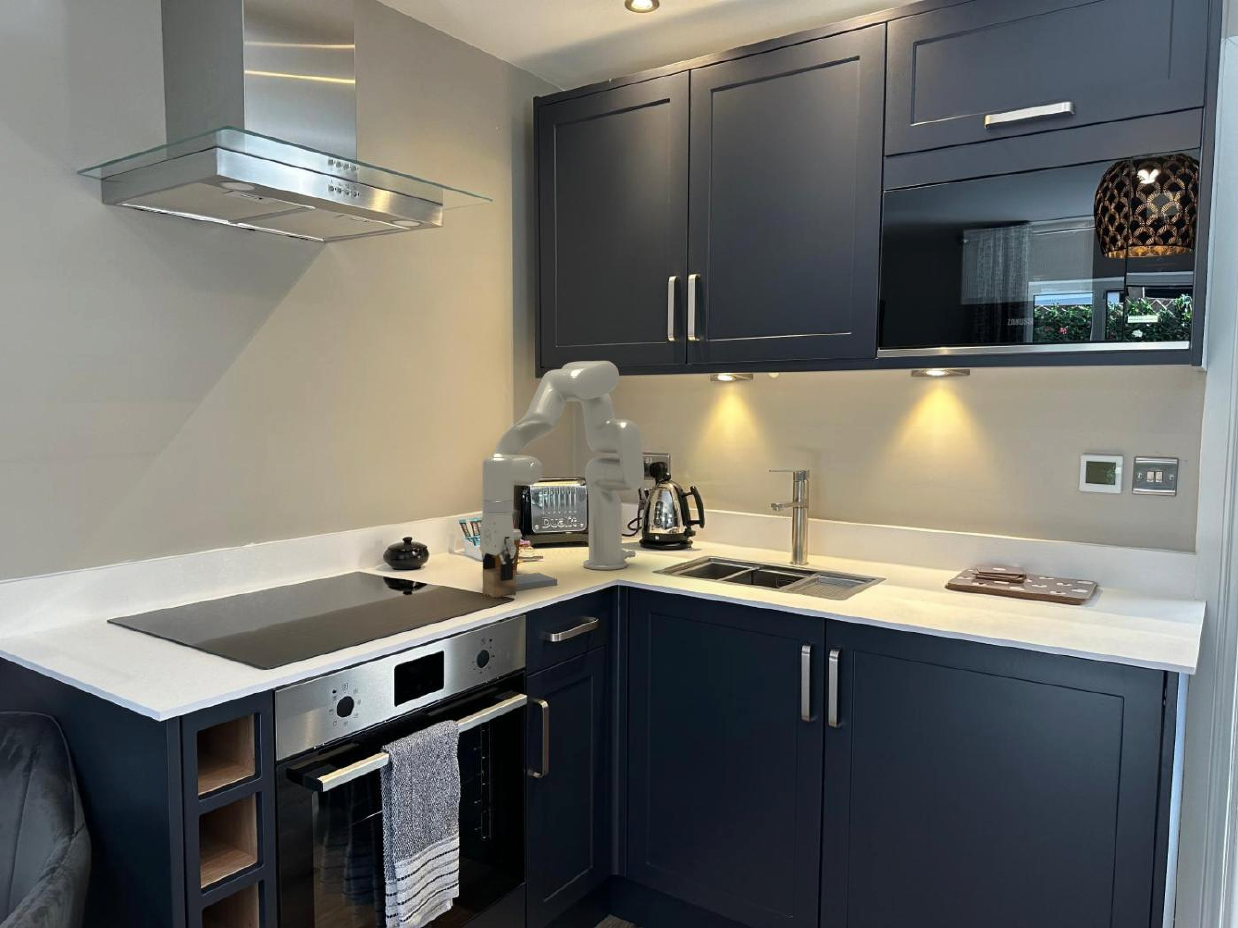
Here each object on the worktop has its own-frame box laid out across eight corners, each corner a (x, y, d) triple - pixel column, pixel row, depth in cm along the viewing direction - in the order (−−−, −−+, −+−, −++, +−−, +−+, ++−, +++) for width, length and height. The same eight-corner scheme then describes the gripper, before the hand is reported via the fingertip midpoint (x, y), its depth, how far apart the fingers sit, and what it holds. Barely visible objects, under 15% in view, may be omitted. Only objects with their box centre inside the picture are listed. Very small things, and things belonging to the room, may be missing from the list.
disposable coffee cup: (480, 573, 230) (480, 530, 229) (509, 569, 236) (509, 527, 235) (499, 579, 223) (499, 534, 222) (529, 574, 229) (528, 531, 228)
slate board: (538, 578, 224) (538, 572, 224) (557, 584, 216) (557, 579, 216) (497, 583, 217) (497, 577, 217) (515, 590, 209) (515, 584, 209)
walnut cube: (504, 590, 210) (504, 566, 209) (515, 595, 205) (515, 570, 204) (482, 593, 206) (482, 569, 206) (493, 598, 201) (493, 573, 201)
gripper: (469, 504, 209) (468, 572, 210) (499, 511, 195) (499, 584, 195) (496, 503, 213) (496, 569, 214) (528, 510, 199) (527, 581, 200)
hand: (497, 576), depth 205 cm, fingers open, 9 cm apart
